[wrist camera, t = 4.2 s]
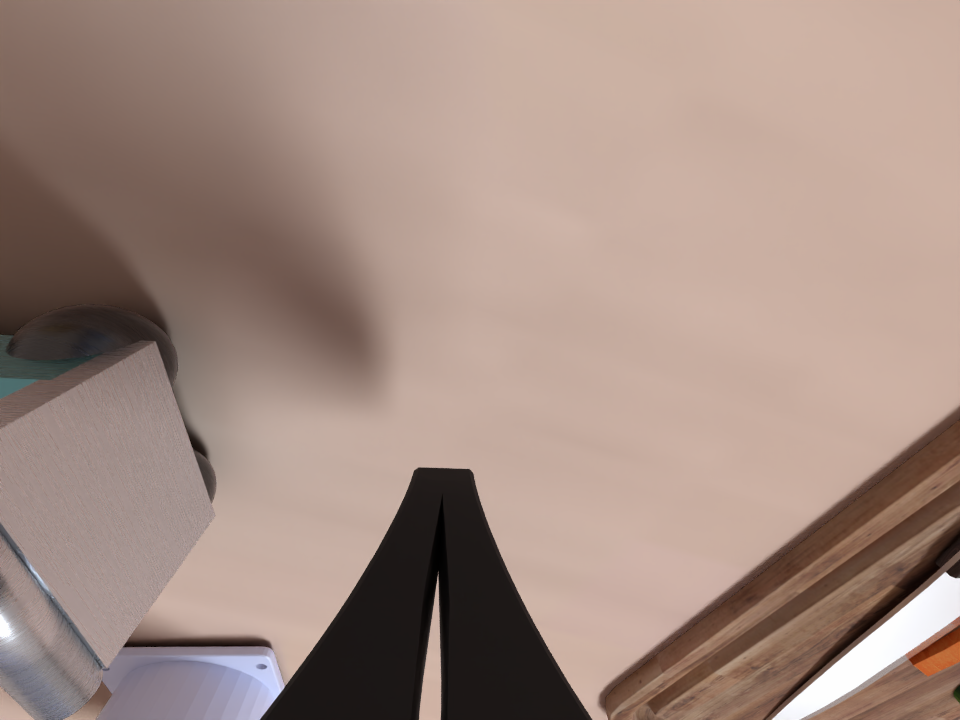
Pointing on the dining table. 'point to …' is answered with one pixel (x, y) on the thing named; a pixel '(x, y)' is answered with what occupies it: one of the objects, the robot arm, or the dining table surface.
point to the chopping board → (832, 619)
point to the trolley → (88, 497)
